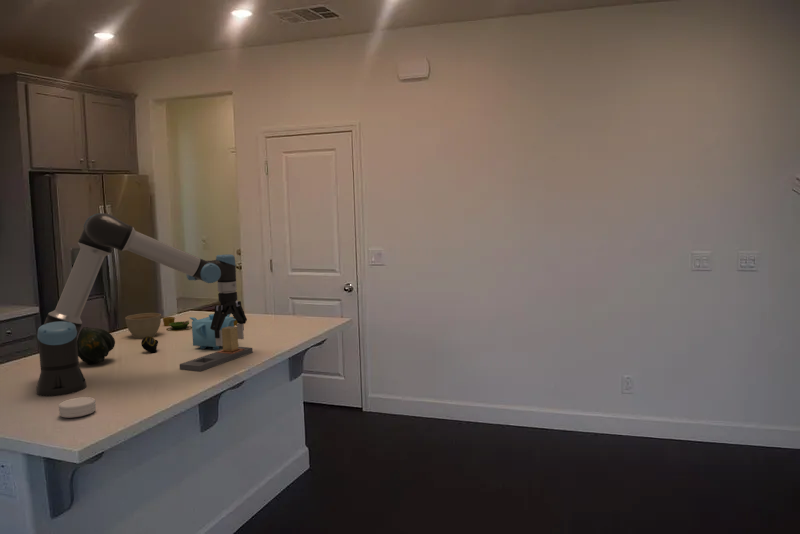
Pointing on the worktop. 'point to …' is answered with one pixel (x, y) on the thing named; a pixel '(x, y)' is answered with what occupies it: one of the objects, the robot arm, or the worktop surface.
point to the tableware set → (180, 324)
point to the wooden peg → (230, 339)
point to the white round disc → (77, 407)
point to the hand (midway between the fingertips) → (230, 342)
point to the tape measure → (149, 344)
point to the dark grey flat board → (214, 359)
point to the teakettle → (207, 331)
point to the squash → (94, 344)
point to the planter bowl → (143, 324)
